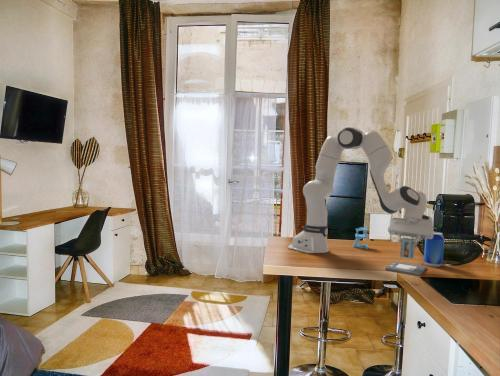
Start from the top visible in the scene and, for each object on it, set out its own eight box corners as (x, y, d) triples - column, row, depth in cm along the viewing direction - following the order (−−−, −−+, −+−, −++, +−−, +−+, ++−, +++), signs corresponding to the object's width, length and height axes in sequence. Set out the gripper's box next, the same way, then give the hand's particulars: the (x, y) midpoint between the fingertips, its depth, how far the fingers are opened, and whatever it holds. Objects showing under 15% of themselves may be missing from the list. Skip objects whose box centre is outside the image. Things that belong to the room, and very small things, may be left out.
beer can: (424, 265, 191) (426, 233, 190) (423, 261, 199) (425, 230, 198) (443, 268, 188) (445, 235, 187) (441, 263, 196) (443, 232, 195)
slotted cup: (400, 257, 182) (401, 239, 182) (402, 255, 186) (403, 237, 186) (411, 258, 180) (412, 240, 179) (413, 256, 184) (414, 239, 183)
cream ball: (406, 242, 182) (411, 242, 183) (403, 246, 185) (408, 246, 185) (409, 248, 180) (414, 247, 181) (406, 252, 182) (412, 251, 183)
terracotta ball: (403, 257, 183) (400, 252, 182) (404, 254, 185) (402, 248, 184) (409, 256, 181) (407, 251, 180) (411, 253, 183) (408, 247, 183)
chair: (352, 245, 233) (353, 225, 232) (367, 246, 231) (368, 226, 231) (353, 248, 226) (354, 227, 225) (368, 249, 224) (369, 228, 223)
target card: (385, 269, 181) (385, 267, 181) (393, 263, 194) (393, 260, 194) (419, 276, 173) (420, 273, 173) (426, 268, 186) (426, 266, 186)
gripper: (390, 213, 193) (383, 235, 186) (435, 217, 182) (430, 241, 174) (391, 221, 197) (385, 243, 190) (436, 226, 186) (431, 249, 179)
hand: (407, 242), depth 182 cm, fingers closed on slotted cup, 5 cm apart
